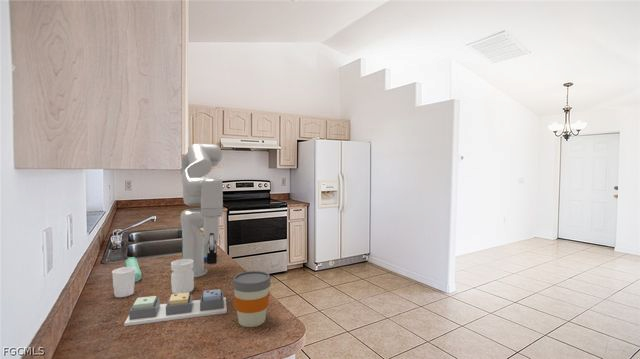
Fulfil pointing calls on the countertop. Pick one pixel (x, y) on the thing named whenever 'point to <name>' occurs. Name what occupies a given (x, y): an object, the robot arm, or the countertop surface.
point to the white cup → (123, 281)
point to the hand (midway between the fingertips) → (212, 260)
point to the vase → (182, 276)
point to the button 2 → (179, 299)
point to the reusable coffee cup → (251, 297)
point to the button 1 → (145, 302)
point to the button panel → (176, 311)
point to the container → (134, 263)
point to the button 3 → (212, 295)
